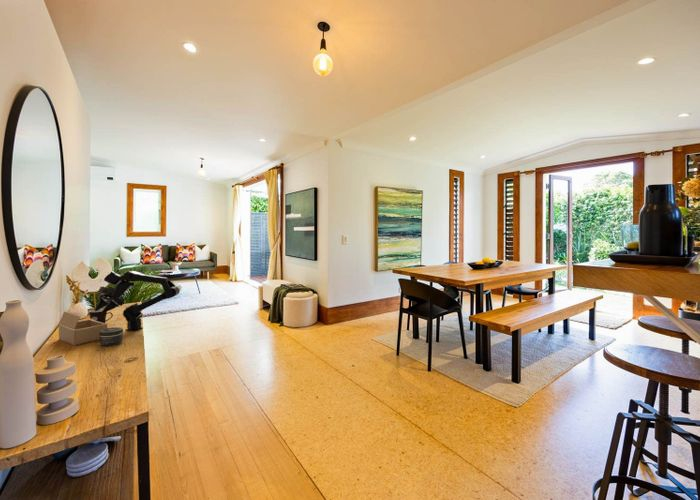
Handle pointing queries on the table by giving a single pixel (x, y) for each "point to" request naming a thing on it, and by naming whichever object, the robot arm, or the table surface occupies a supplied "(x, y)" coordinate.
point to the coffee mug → (99, 315)
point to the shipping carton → (81, 332)
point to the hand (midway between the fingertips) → (98, 311)
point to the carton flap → (69, 320)
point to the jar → (111, 336)
